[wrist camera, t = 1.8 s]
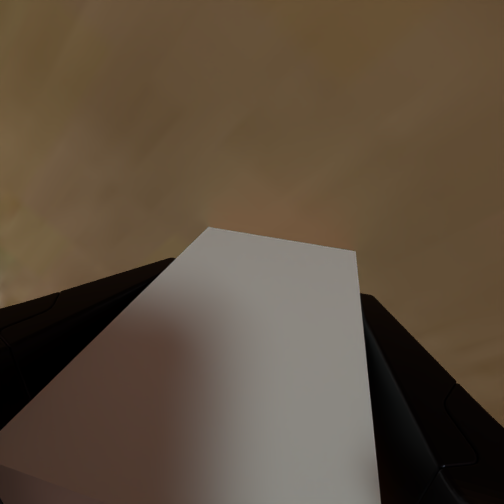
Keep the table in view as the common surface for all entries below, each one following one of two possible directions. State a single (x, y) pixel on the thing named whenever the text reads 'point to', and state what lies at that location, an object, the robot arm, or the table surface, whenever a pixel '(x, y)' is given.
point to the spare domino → (211, 389)
